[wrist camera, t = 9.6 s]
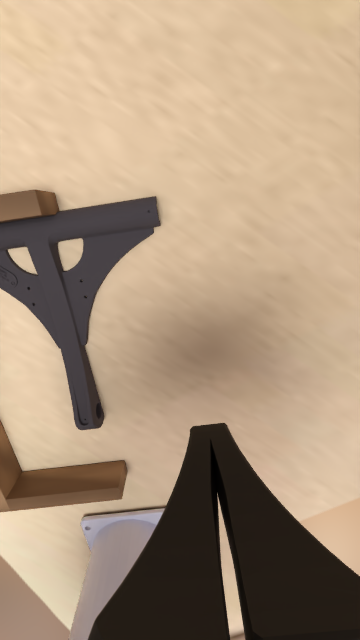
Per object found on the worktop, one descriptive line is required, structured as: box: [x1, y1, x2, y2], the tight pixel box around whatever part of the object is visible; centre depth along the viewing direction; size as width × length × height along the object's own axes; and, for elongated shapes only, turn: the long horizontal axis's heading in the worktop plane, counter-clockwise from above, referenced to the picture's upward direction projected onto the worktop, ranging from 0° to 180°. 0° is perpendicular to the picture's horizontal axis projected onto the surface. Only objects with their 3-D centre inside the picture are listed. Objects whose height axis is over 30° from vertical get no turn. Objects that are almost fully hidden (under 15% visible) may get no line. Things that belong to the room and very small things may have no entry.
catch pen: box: [0, 190, 127, 512], centre depth 20 cm, size 21×10×2 cm, turn 8°
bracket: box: [0, 197, 160, 430], centre depth 19 cm, size 14×15×3 cm
